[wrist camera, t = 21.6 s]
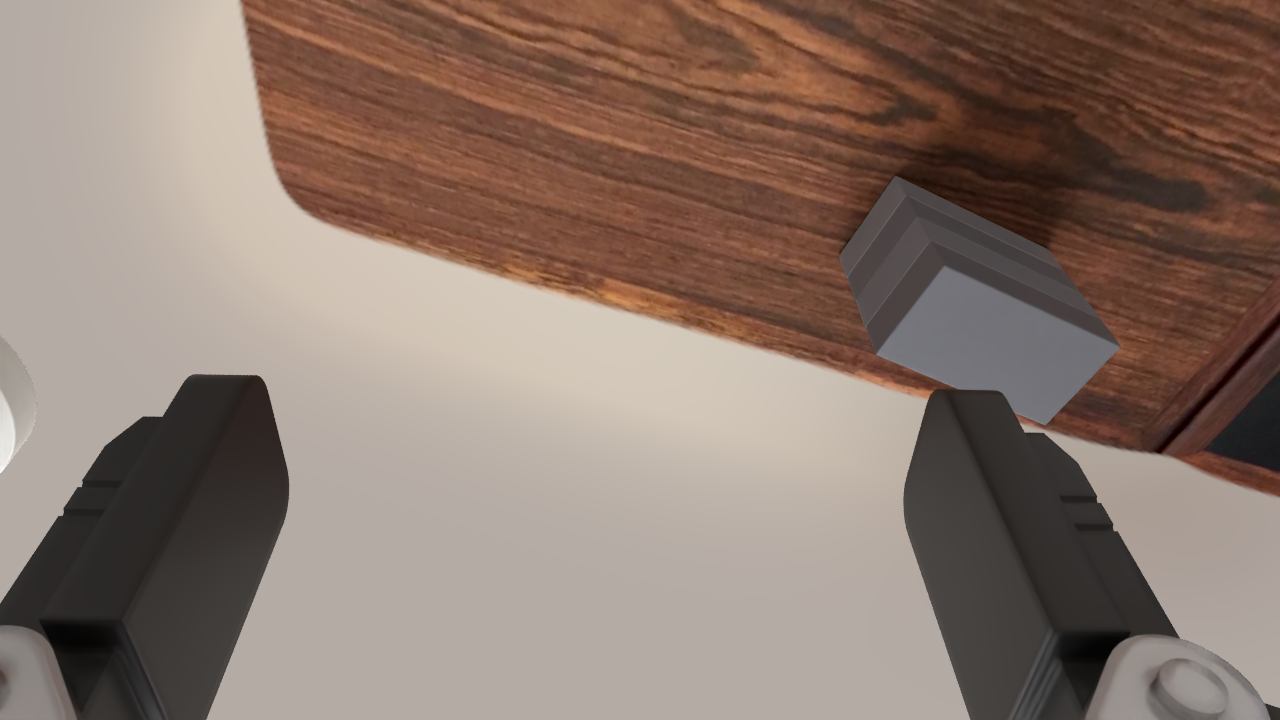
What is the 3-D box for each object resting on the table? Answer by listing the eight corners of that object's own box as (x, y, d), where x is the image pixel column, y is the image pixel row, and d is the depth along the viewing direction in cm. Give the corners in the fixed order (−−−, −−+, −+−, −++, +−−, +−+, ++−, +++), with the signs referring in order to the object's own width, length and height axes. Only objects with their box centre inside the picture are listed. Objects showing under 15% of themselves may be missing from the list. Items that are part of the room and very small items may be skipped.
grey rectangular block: (837, 256, 40) (875, 354, 34) (894, 174, 38) (945, 265, 32) (986, 322, 42) (1045, 426, 37) (1048, 249, 40) (1122, 346, 34)
